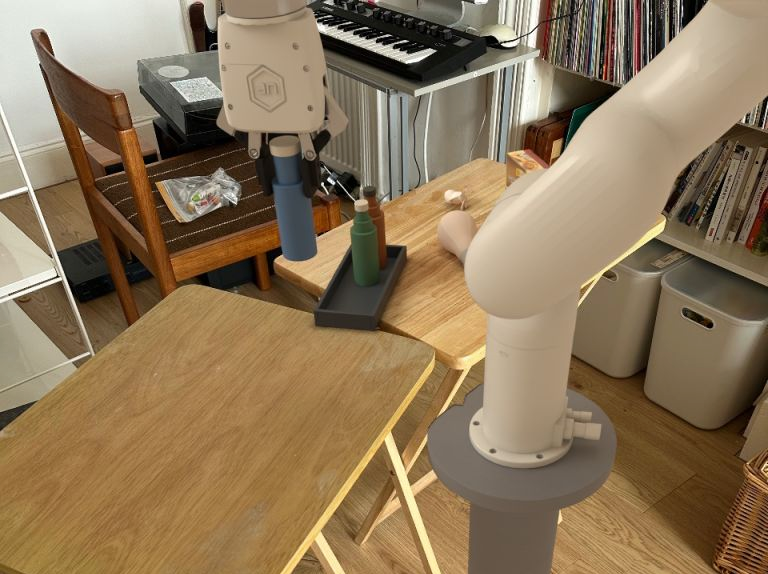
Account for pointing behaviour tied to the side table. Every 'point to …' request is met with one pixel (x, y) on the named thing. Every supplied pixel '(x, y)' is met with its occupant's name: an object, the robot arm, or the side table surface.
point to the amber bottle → (377, 223)
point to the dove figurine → (456, 197)
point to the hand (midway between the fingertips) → (291, 190)
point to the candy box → (522, 165)
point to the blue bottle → (292, 201)
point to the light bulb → (456, 233)
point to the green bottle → (364, 246)
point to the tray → (359, 294)
